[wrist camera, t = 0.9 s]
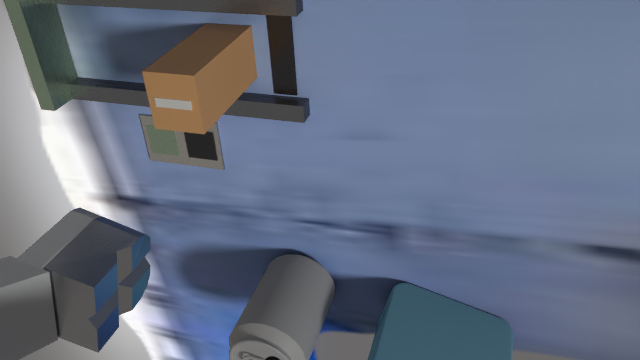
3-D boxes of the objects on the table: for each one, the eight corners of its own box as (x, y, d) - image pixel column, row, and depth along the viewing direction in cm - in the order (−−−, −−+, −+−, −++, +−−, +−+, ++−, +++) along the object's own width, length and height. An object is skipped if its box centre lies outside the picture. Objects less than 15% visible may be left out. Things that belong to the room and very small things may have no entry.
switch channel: (301, -10, 45) (283, 7, 42) (314, 180, 54) (300, 205, 51) (34, -20, 51) (1, -7, 48) (87, 150, 61) (62, 171, 58)
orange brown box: (251, 25, 48) (193, 76, 40) (257, 77, 50) (203, 135, 42) (206, 23, 49) (141, 72, 41) (214, 74, 51) (154, 129, 43)
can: (327, 312, 64) (290, 407, 54) (263, 286, 64) (215, 374, 55) (345, 266, 59) (308, 360, 50) (276, 238, 60) (227, 325, 50)
